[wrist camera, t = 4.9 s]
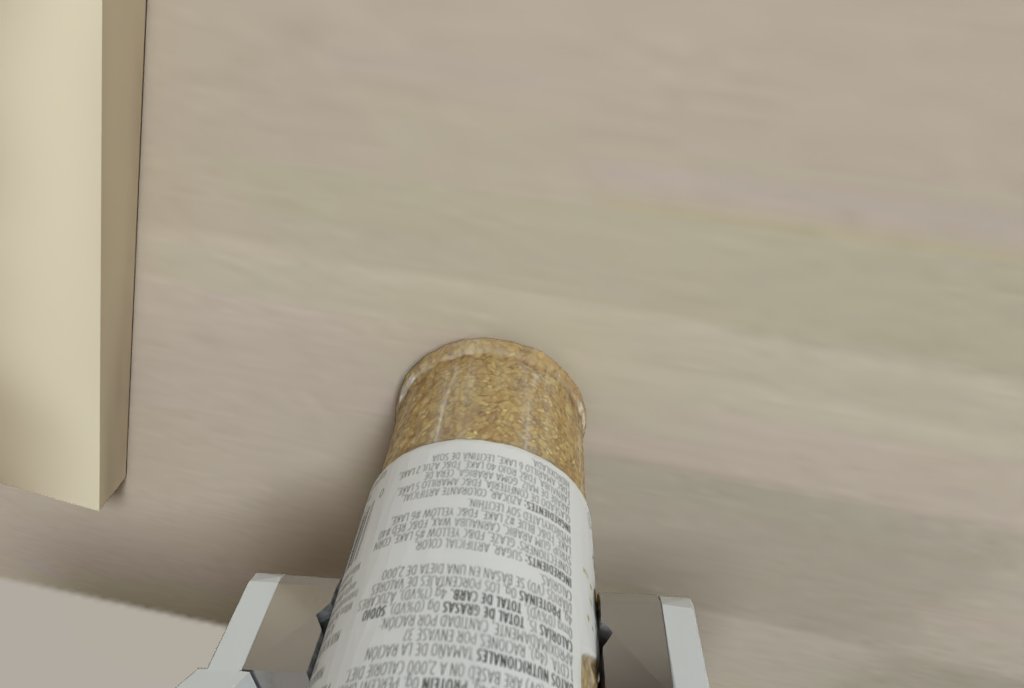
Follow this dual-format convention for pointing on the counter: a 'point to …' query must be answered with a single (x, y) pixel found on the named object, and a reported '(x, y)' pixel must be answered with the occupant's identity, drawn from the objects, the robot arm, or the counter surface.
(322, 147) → the counter surface
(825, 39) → the counter surface
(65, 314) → the birch board
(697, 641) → the robot arm
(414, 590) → the sprinkles bottle
